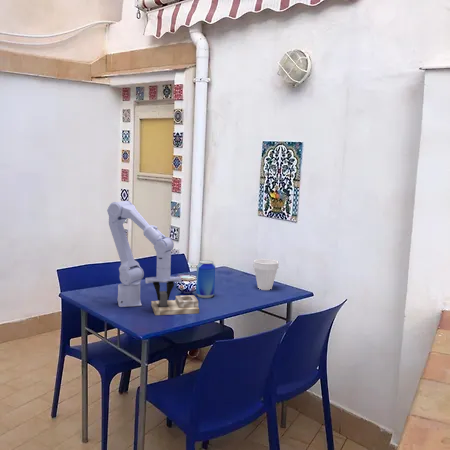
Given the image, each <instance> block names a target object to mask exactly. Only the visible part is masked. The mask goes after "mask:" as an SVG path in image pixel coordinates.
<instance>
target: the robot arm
mask: <svg viewBox="0 0 450 450" xmlns="http://www.w3.org/2000/svg"><path fill="white" fill-rule="evenodd" d="M107 207H108V208H106V209H107V210H106V211H107V215H108V226H109V230H110V232H111V236H112V238H113V242H114V245H115V247H116V250H117V254H118V257H119V261H120V265H119V267H118V271H119V272H118V273H119V281H120V282H121V283H118V285H117V298H116V299H117V305H118V307H120V308H121V307H123V308H124V307H125V308H127V307H142V302H141V284H142V283H141V282H142V280H143V279H145V284H153V287H154V289H155V292H156V293H155V294H156V297H157V301H159V300H160V291H161V285H160V284H161V283H166V292H167V300H170V297H171V296H170V294H171V292H172V291H173V288H174V287H175V283H182V277H181V276H171V273H172V272H171V269H172V268H171V265H172V263H171V262H172V250H174V246H175V245H174V244H175V243H174V241H173V239H172V238H171V237H169V236H166V235H165V234H163V233H162V232H161V231H160V230H159V227H158V226H157V225H154V224H149V222H148V221H147V220H146V219H145V218H144V217H143V215H142V214H141V213H140V212H139V211H138V210H137V209H136V206H135V204H133V203H132V202H131V201H130V200H124V201H123V200H122V201H112V202H111V203H109V206H107ZM127 219H130V220H131V221H132V222H133V223H134V224H136V226H138V227H139V228H140V229H141V230H142V231H143V236H145V238H146V239H147V240H148V241H149V242H151V244H152V245H153V249H154V251H155V253H156V254H155V255H156V276H149V277H145V278H144V276H145V272H144V269H143V268H142V267H141V266H140V263H139V262H138V261H137V260H135V259H134V256H133V253H132V252H133V251H132V250H131V249H132V248H131V246H130V243H129V240H128V237H127V234H126V231H125V228H124V223H125V222H126V220H127Z"/></svg>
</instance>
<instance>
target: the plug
mask: <svg viewBox="0 0 450 450" xmlns="http://www.w3.org/2000/svg"><path fill="white" fill-rule="evenodd" d="M158 301H159V307H167V290H164V291H162V290H160V300H158Z"/></svg>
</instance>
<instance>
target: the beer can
mask: <svg viewBox="0 0 450 450" xmlns="http://www.w3.org/2000/svg"><path fill="white" fill-rule="evenodd" d="M195 281H196V283H195V284H196V289H195V294H196V295H197V297H198V298H203V299H210V298H212V297H214V295H215V291H216V290H215V289H216V288H215V287H216V286H215V285H216V265H215V263H214V261H213V260H210V259H209V260H208V259H205V260H199V262H198V264H197V265H196V280H195Z"/></svg>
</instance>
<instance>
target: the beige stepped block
mask: <svg viewBox="0 0 450 450" xmlns="http://www.w3.org/2000/svg"><path fill="white" fill-rule="evenodd" d="M150 303H151V304H150V306H151V308H152V312H153V314H154V316H167V315H168V316H169V315H171V316H172V315H188V314H189V315H193V314H200V308H199V300H198V298H197V297H196V296H195V295H194V294H191V295H190V294H189V295H187V294H186V295H175V299H174V300H173V299H171V300H170V299H169V300H167V307H159V300H151V301H150Z"/></svg>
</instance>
